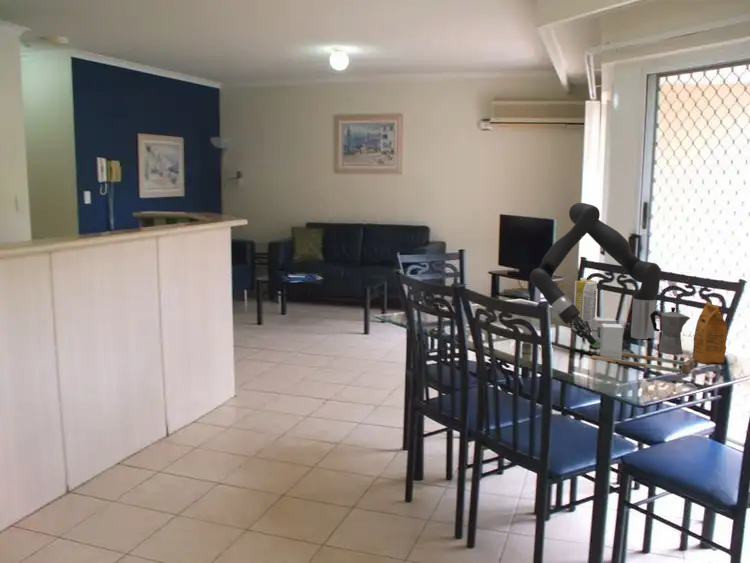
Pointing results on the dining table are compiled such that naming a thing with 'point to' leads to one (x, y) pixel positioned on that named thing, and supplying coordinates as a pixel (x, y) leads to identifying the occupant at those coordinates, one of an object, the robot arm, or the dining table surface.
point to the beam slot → (685, 365)
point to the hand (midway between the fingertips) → (594, 343)
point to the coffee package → (710, 336)
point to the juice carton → (586, 299)
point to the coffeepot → (670, 330)
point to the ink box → (599, 328)
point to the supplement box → (611, 341)
